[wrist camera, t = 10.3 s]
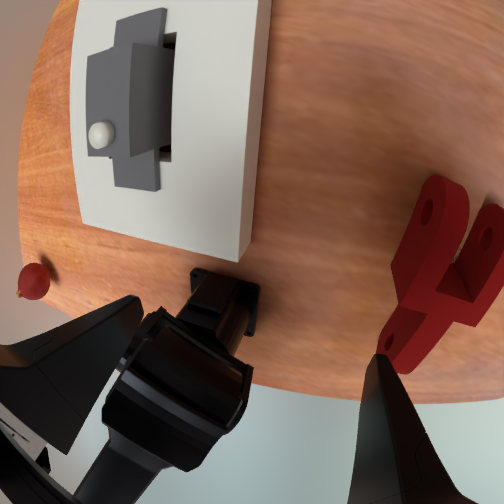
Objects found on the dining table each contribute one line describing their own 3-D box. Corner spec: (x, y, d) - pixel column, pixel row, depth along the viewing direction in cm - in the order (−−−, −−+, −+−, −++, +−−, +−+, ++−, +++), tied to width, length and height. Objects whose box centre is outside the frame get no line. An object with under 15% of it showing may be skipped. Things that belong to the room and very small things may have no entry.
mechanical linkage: (428, 166, 15) (455, 187, 11) (498, 202, 13) (531, 231, 9) (353, 332, 23) (350, 375, 19) (414, 347, 22) (420, 388, 18)
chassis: (250, 242, 22) (237, 262, 19) (103, 211, 25) (82, 223, 22) (275, -35, 10) (263, -54, 7) (102, 3, 13) (79, -1, 11)
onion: (56, 288, 38) (26, 315, 31) (37, 262, 36) (7, 287, 30) (62, 276, 35) (28, 306, 28) (42, 248, 33) (7, 275, 27)
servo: (146, 27, 14) (83, 16, 9) (189, 18, 14) (129, -4, 8) (142, 173, 21) (84, 202, 16) (181, 177, 20) (125, 209, 15)
